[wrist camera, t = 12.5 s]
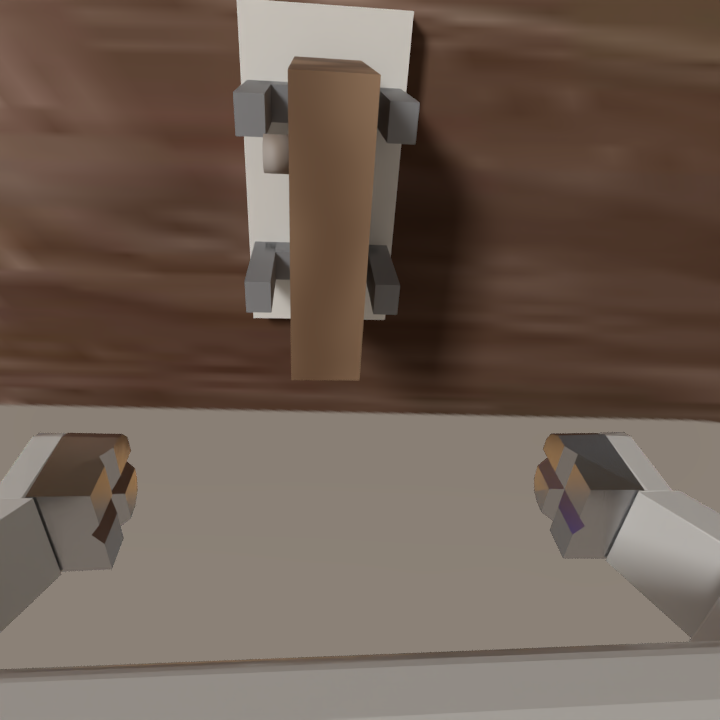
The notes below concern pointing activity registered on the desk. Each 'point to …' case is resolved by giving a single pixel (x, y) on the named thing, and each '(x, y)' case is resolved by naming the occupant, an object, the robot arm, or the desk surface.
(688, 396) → the desk surface
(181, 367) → the desk surface
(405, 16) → the white and grey rack
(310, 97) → the door panel
